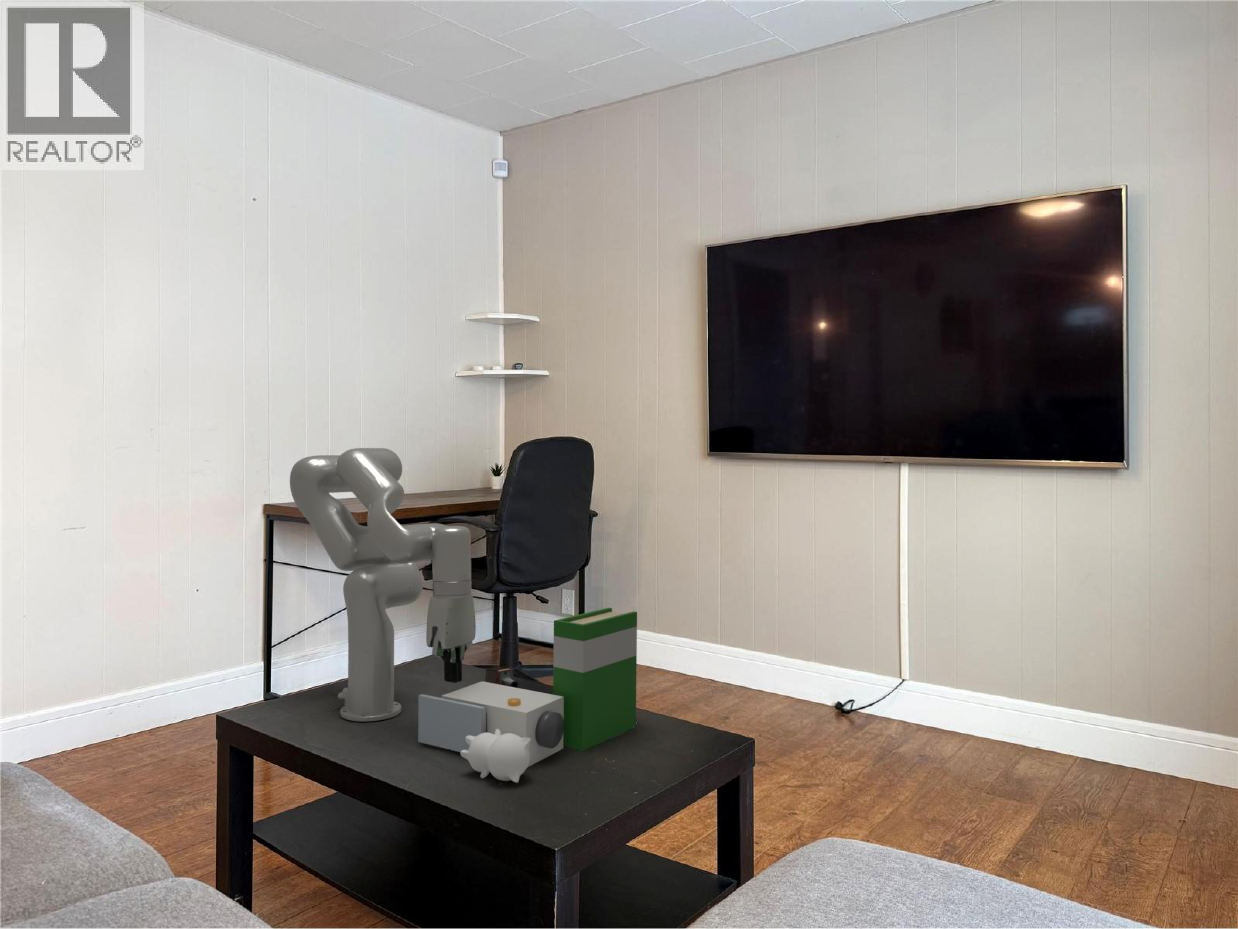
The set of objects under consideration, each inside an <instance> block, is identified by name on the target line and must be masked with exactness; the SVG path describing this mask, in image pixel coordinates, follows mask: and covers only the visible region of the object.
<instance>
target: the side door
mask: <svg viewBox="0 0 1238 929" xmlns="http://www.w3.org/2000/svg"><path fill="white" fill-rule="evenodd" d="M417 706H418V710H417V711H418V713H417V714H418V718H417V719H418V720H417V723H418V725H417V726H418V727H417V728H418V730H417V742H418V743H422V744H426V745H429V746H434V747H437V748H442V749H445V748H446V749H445V750H449V749H450V751H454V752H458V753H460V752H461V751H462V750H469V747H470V745H469V744H468V743H467V742H466V740H465V738H466V736H468V735H470V736H478V735H479V734H481V733H486V707H482V706H477V705H472V704H468V703H463V702H458V701H453V700H448V699H443V698H442V697H440V696H436V695H433V694H432V695H431V694H423V693H422V694H419V695H418V705H417Z"/></svg>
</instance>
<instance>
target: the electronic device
mask: <svg viewBox="0 0 1238 929" xmlns="http://www.w3.org/2000/svg"><path fill="white" fill-rule="evenodd" d="M484 682H488V683H493V684H499V685H504V686H509V687H515V688H519V683H518V682H519V681H516V680H515V679H514V675H513V670H512V669H511V668H507V667H492V668H487V669H486V670H485V680H484Z"/></svg>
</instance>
